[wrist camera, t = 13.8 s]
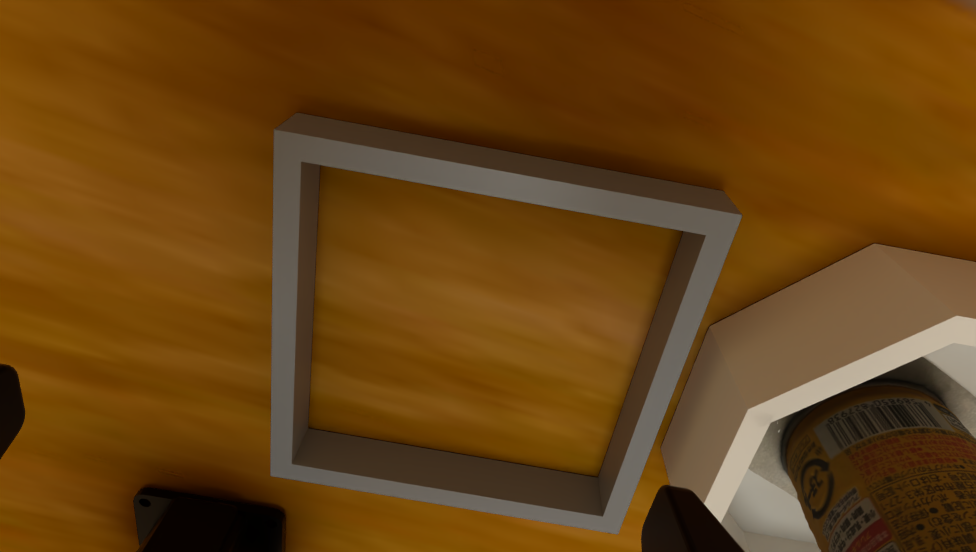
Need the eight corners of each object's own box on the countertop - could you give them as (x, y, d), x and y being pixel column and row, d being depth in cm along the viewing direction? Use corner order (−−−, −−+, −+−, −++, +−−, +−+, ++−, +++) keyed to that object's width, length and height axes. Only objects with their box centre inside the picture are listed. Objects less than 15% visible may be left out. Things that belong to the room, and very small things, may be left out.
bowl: (948, 572, 27) (1020, 679, 23) (632, 519, 27) (649, 618, 23) (1165, 296, 21) (1315, 380, 17) (751, 221, 20) (804, 288, 16)
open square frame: (611, 494, 26) (617, 534, 25) (287, 439, 26) (270, 475, 24) (723, 191, 20) (742, 215, 18) (296, 112, 20) (273, 129, 18)
